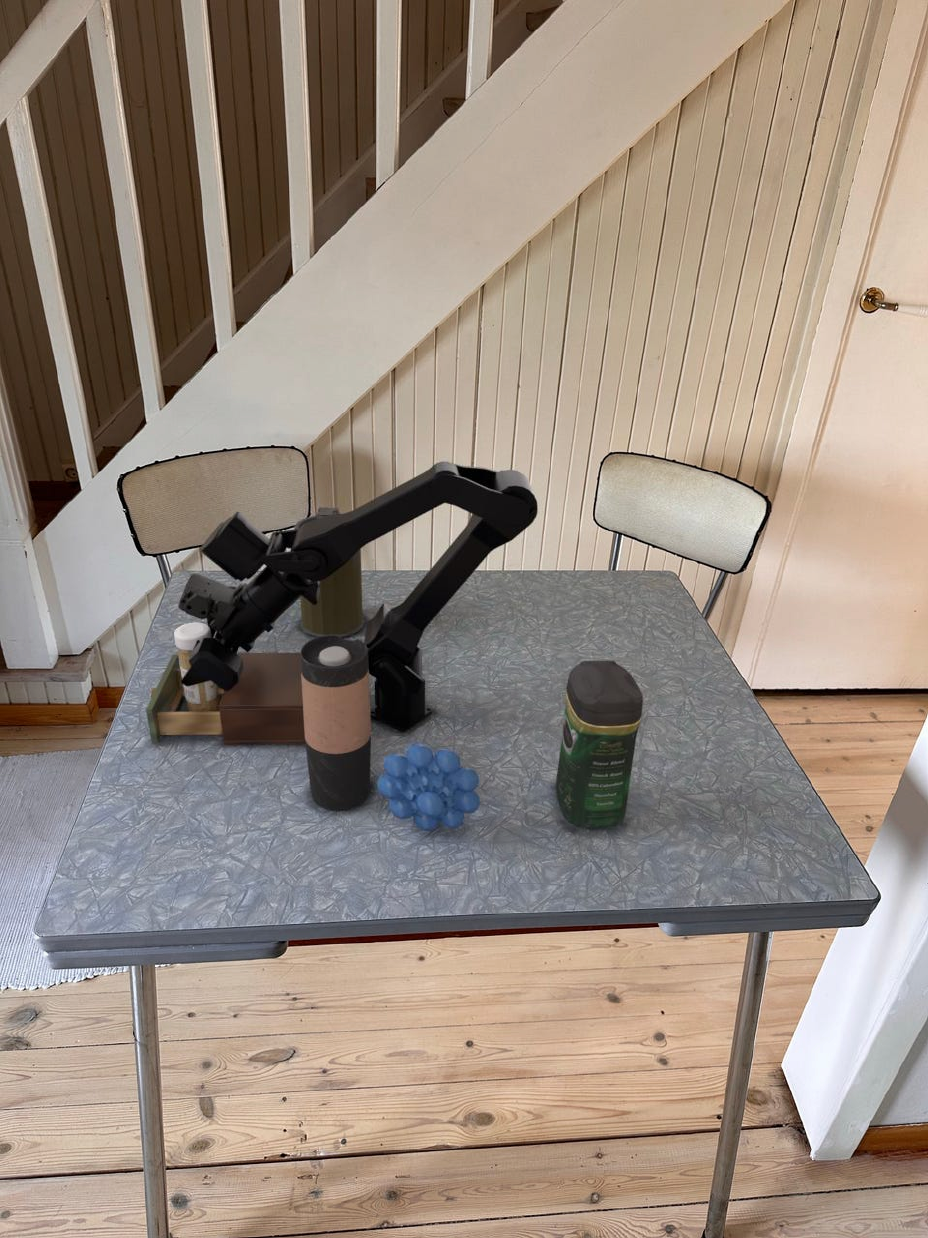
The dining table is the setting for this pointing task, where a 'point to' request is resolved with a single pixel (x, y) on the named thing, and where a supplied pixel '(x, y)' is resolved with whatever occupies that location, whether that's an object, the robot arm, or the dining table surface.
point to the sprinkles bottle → (186, 637)
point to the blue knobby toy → (429, 787)
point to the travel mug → (337, 720)
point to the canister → (335, 596)
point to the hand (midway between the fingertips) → (188, 674)
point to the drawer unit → (265, 701)
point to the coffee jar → (598, 744)
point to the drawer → (166, 704)
